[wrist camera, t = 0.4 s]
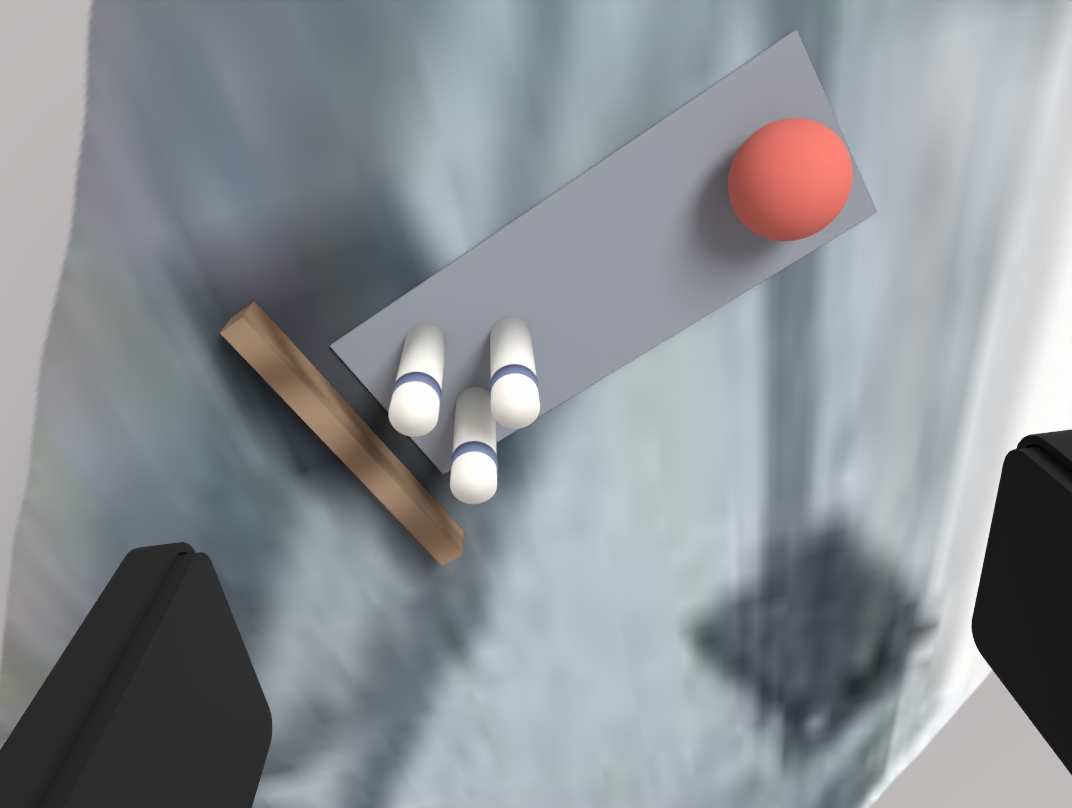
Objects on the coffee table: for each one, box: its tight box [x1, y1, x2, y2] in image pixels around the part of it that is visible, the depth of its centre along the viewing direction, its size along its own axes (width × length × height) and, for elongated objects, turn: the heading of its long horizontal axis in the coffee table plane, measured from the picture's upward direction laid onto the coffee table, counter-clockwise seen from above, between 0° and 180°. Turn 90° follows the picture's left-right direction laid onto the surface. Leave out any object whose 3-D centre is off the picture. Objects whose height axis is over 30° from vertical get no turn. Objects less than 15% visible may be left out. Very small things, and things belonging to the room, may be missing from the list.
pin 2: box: [450, 386, 498, 504], centre depth 44 cm, size 2×2×9 cm
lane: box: [330, 29, 877, 475], centre depth 44 cm, size 11×30×1 cm, turn 123°
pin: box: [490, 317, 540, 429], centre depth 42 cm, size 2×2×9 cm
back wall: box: [220, 301, 463, 566], centre depth 47 cm, size 20×2×2 cm, turn 33°
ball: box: [728, 118, 853, 241], centre depth 39 cm, size 6×6×6 cm
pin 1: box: [388, 323, 446, 437], centre depth 42 cm, size 2×2×9 cm
